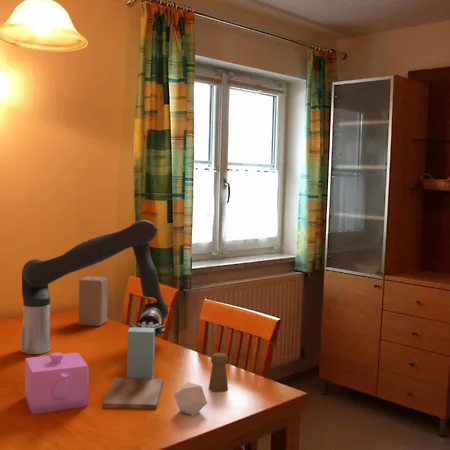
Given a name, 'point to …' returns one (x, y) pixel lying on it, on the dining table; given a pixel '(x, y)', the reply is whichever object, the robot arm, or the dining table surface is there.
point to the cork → (218, 373)
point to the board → (134, 393)
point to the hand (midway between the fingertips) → (144, 335)
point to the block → (93, 300)
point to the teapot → (56, 382)
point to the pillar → (140, 353)
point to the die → (190, 398)
